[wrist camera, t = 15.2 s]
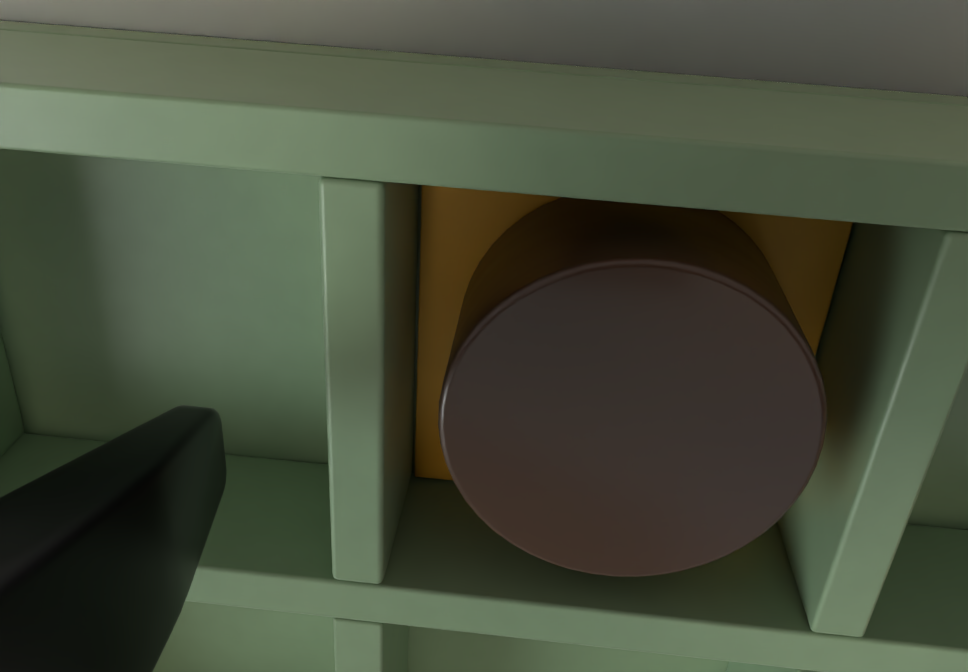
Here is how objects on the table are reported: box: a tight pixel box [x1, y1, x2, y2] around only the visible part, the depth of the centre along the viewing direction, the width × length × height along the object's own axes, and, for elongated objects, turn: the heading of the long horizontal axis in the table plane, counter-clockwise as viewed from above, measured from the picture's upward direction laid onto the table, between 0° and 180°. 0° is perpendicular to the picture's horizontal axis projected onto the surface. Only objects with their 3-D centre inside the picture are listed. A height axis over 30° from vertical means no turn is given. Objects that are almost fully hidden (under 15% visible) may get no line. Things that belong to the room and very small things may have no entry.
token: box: [438, 197, 827, 577], centre depth 11 cm, size 4×4×2 cm
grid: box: [0, 21, 968, 672], centre depth 13 cm, size 13×20×3 cm
